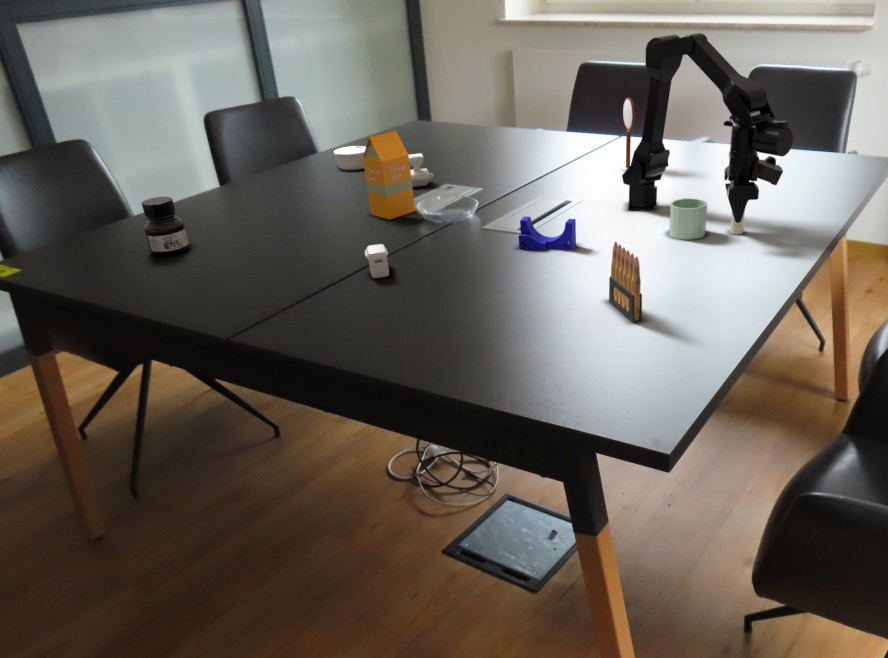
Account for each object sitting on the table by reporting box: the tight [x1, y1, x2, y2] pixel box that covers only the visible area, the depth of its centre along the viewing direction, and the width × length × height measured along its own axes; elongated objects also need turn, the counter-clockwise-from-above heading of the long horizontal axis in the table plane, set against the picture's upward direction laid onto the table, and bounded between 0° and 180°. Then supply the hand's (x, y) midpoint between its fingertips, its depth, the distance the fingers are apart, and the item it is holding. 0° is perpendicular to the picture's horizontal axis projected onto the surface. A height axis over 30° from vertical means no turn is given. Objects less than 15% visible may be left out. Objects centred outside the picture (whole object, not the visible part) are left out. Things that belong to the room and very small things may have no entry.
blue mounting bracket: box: [518, 216, 577, 251], centre depth 183 cm, size 12×4×6 cm, turn 71°
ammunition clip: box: [608, 240, 643, 323], centre depth 149 cm, size 11×2×12 cm, turn 18°
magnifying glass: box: [622, 96, 636, 170], centre depth 231 cm, size 9×2×20 cm, turn 12°
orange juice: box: [363, 129, 416, 220], centre depth 208 cm, size 8×9×20 cm
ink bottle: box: [140, 196, 190, 257], centre depth 194 cm, size 10×9×12 cm
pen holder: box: [668, 197, 708, 241], centre depth 185 cm, size 8×8×7 cm
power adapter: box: [364, 243, 390, 279], centre depth 176 cm, size 11×5×6 cm, turn 13°
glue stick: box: [729, 209, 746, 235], centre depth 184 cm, size 3×3×8 cm
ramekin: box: [333, 145, 366, 171], centre depth 257 cm, size 11×11×5 cm
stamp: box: [408, 153, 435, 188], centre depth 233 cm, size 9×7×8 cm
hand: (737, 220), depth 185 cm, fingers closed on glue stick, 3 cm apart
